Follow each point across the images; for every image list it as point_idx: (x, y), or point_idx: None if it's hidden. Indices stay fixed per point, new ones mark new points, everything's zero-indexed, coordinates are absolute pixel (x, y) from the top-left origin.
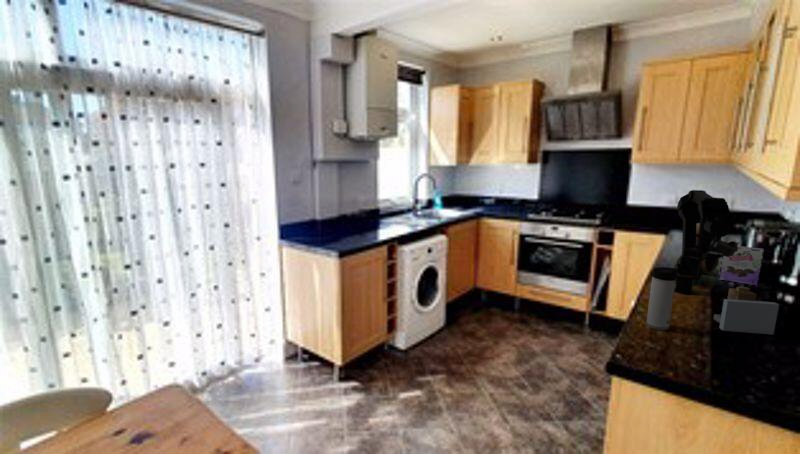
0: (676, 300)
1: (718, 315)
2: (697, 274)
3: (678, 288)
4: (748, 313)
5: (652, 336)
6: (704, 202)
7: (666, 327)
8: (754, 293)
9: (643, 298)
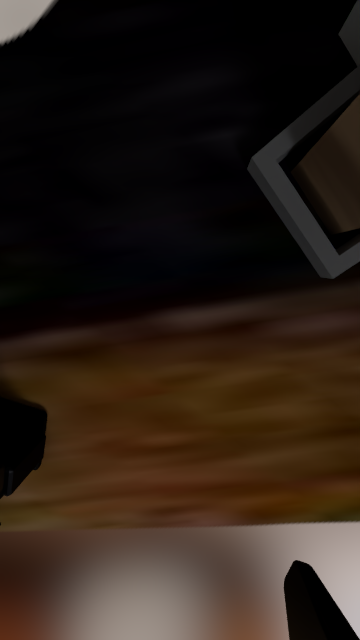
0: (159, 431)
1: (342, 258)
2: (311, 575)
3: (35, 458)
4: None
5: None
6: None
7: None
8: None
9: (240, 523)
